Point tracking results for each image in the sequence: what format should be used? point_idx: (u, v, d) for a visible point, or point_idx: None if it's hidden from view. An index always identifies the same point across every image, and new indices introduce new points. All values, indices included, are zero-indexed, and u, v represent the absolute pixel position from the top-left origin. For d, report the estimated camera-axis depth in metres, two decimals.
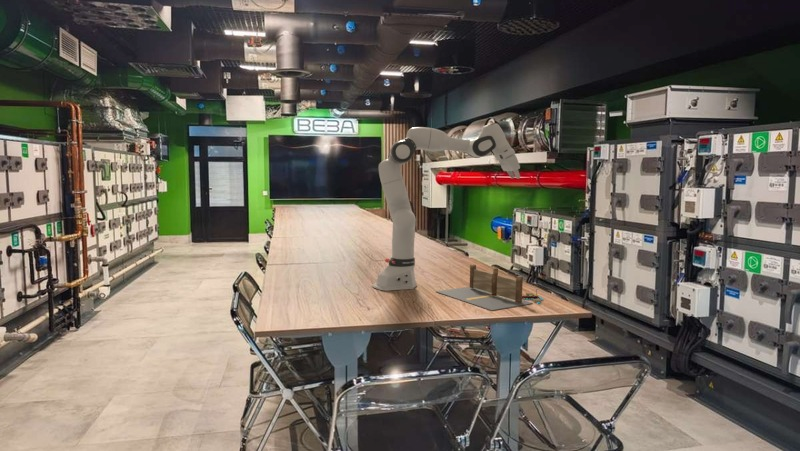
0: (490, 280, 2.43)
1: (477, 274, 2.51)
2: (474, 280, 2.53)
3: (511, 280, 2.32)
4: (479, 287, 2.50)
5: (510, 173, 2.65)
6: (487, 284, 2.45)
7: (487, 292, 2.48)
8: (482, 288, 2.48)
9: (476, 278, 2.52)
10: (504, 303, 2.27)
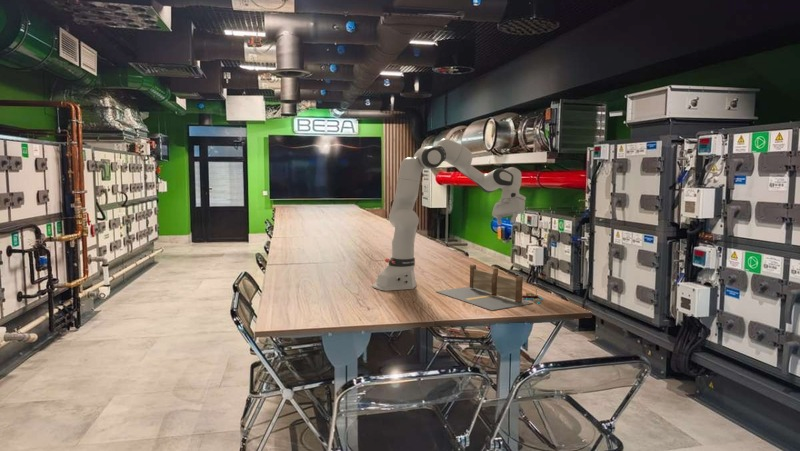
0: (490, 280, 2.43)
1: (477, 274, 2.51)
2: (474, 280, 2.53)
3: (511, 280, 2.32)
4: (479, 287, 2.50)
5: (499, 219, 2.72)
6: (487, 284, 2.45)
7: (487, 292, 2.48)
8: (482, 288, 2.48)
9: (476, 278, 2.52)
10: (504, 303, 2.27)
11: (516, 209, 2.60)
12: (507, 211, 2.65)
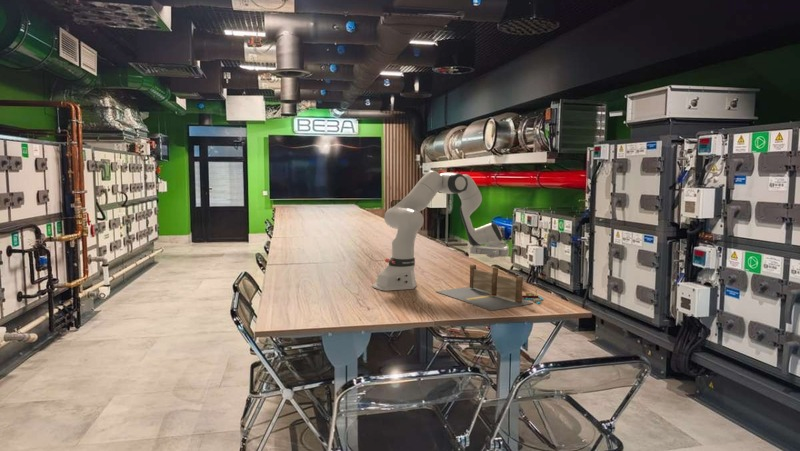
0: (490, 280, 2.43)
1: (477, 274, 2.51)
2: (474, 280, 2.53)
3: (511, 280, 2.32)
4: (479, 287, 2.50)
5: None
6: (487, 284, 2.45)
7: (487, 292, 2.48)
8: (482, 288, 2.48)
9: (476, 278, 2.52)
10: (504, 303, 2.27)
11: (504, 248, 2.70)
12: (492, 248, 2.72)
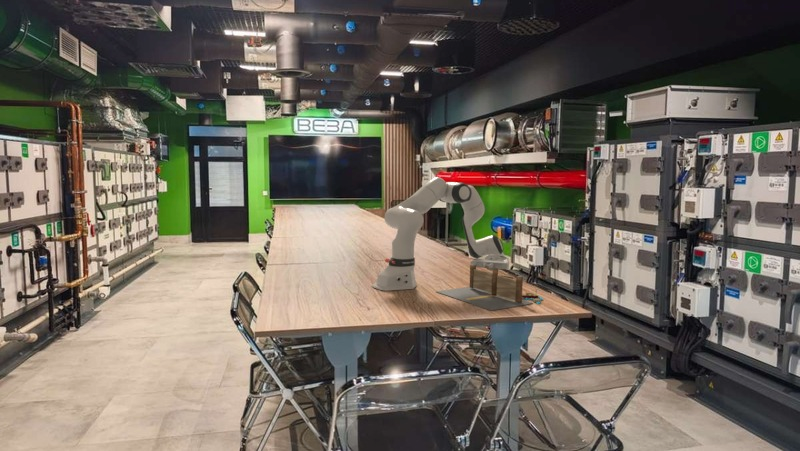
0: (490, 280, 2.43)
1: (477, 274, 2.51)
2: (474, 280, 2.53)
3: (511, 280, 2.32)
4: (479, 287, 2.50)
5: None
6: (487, 284, 2.45)
7: (487, 292, 2.48)
8: (482, 288, 2.48)
9: (476, 278, 2.52)
10: (504, 303, 2.27)
11: (505, 262, 2.71)
12: (492, 261, 2.73)
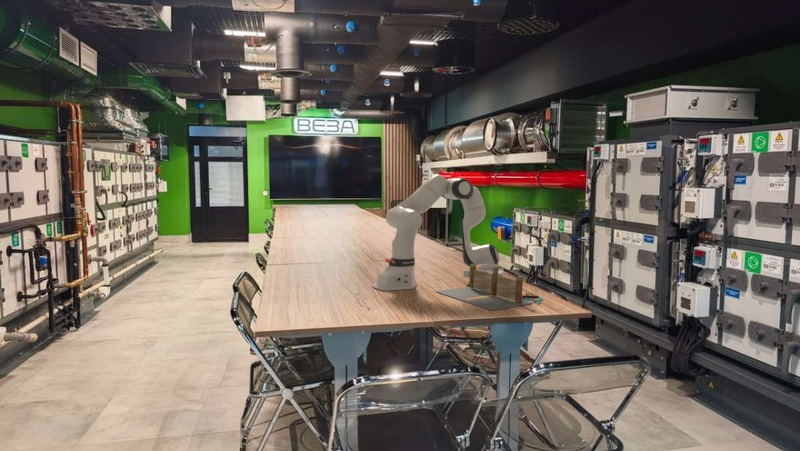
0: (490, 280, 2.43)
1: (477, 274, 2.51)
2: (474, 280, 2.53)
3: (511, 280, 2.32)
4: (479, 287, 2.50)
5: None
6: (487, 284, 2.45)
7: (487, 292, 2.48)
8: (482, 288, 2.48)
9: (476, 278, 2.52)
10: (504, 303, 2.27)
11: (499, 273, 2.60)
12: None
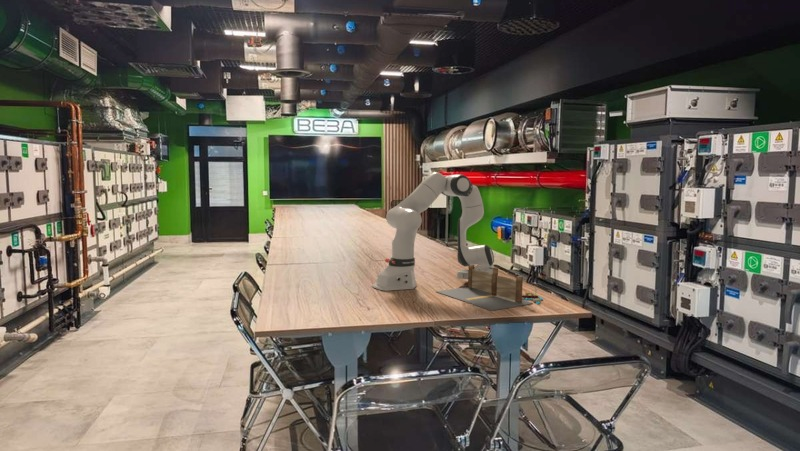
0: (490, 280, 2.43)
1: (476, 274, 2.50)
2: (473, 280, 2.52)
3: (511, 280, 2.32)
4: (478, 287, 2.50)
5: None
6: (487, 284, 2.45)
7: (487, 292, 2.48)
8: (481, 288, 2.48)
9: (475, 278, 2.51)
10: (504, 303, 2.27)
11: None
12: None
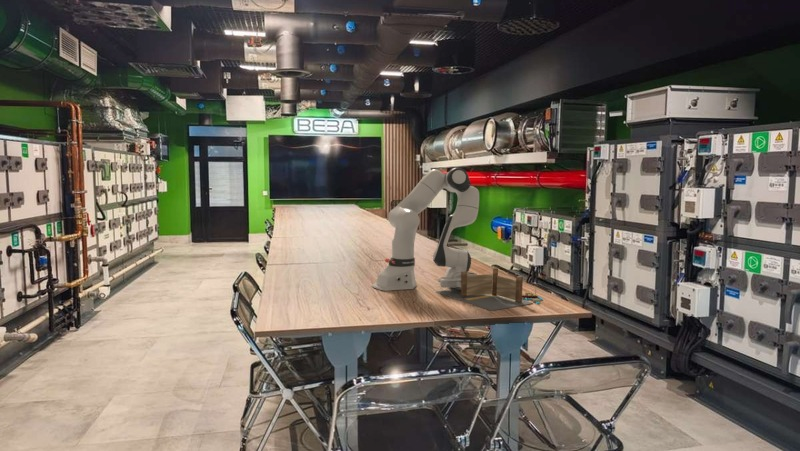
0: (490, 281, 2.40)
1: (472, 280, 2.37)
2: (468, 287, 2.37)
3: (511, 280, 2.32)
4: (475, 293, 2.38)
5: None
6: (486, 286, 2.40)
7: None
8: (479, 292, 2.39)
9: (471, 284, 2.37)
10: (504, 303, 2.27)
11: None
12: None
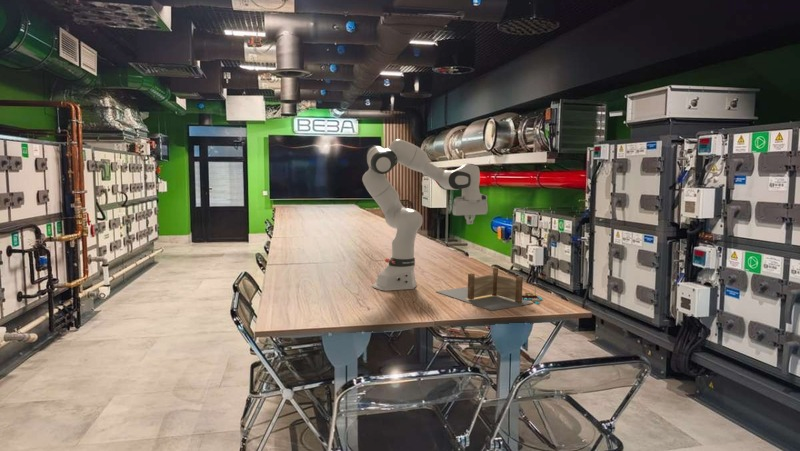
0: (492, 282, 2.39)
1: (478, 281, 2.34)
2: (474, 289, 2.33)
3: (511, 280, 2.32)
4: (480, 294, 2.35)
5: None
6: (489, 287, 2.38)
7: None
8: (483, 294, 2.37)
9: (477, 286, 2.33)
10: (504, 303, 2.27)
11: (485, 212, 2.65)
12: (475, 213, 2.61)
